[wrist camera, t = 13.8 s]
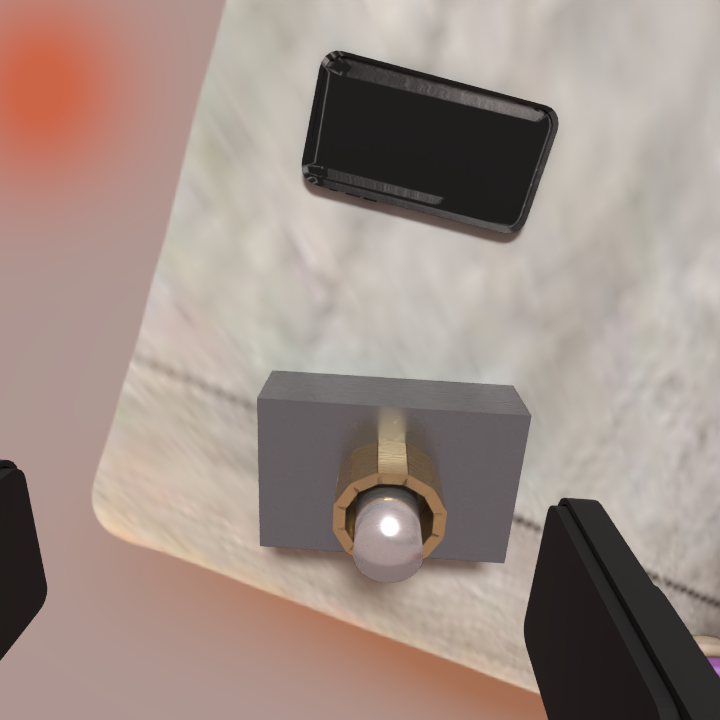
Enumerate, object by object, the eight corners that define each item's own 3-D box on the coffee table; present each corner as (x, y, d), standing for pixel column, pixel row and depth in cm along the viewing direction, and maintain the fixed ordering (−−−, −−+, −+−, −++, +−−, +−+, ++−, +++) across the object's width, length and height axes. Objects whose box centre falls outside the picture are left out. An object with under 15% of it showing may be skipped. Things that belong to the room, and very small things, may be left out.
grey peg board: (513, 385, 38) (567, 474, 27) (490, 519, 42) (529, 645, 31) (272, 370, 39) (227, 452, 27) (273, 504, 43) (234, 623, 32)
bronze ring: (444, 444, 35) (451, 477, 31) (434, 530, 37) (439, 570, 33) (340, 437, 35) (334, 469, 31) (336, 523, 37) (331, 563, 33)
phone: (323, 46, 31) (564, 110, 31) (325, 50, 32) (558, 112, 32) (298, 182, 33) (520, 239, 34) (300, 181, 34) (516, 237, 35)
